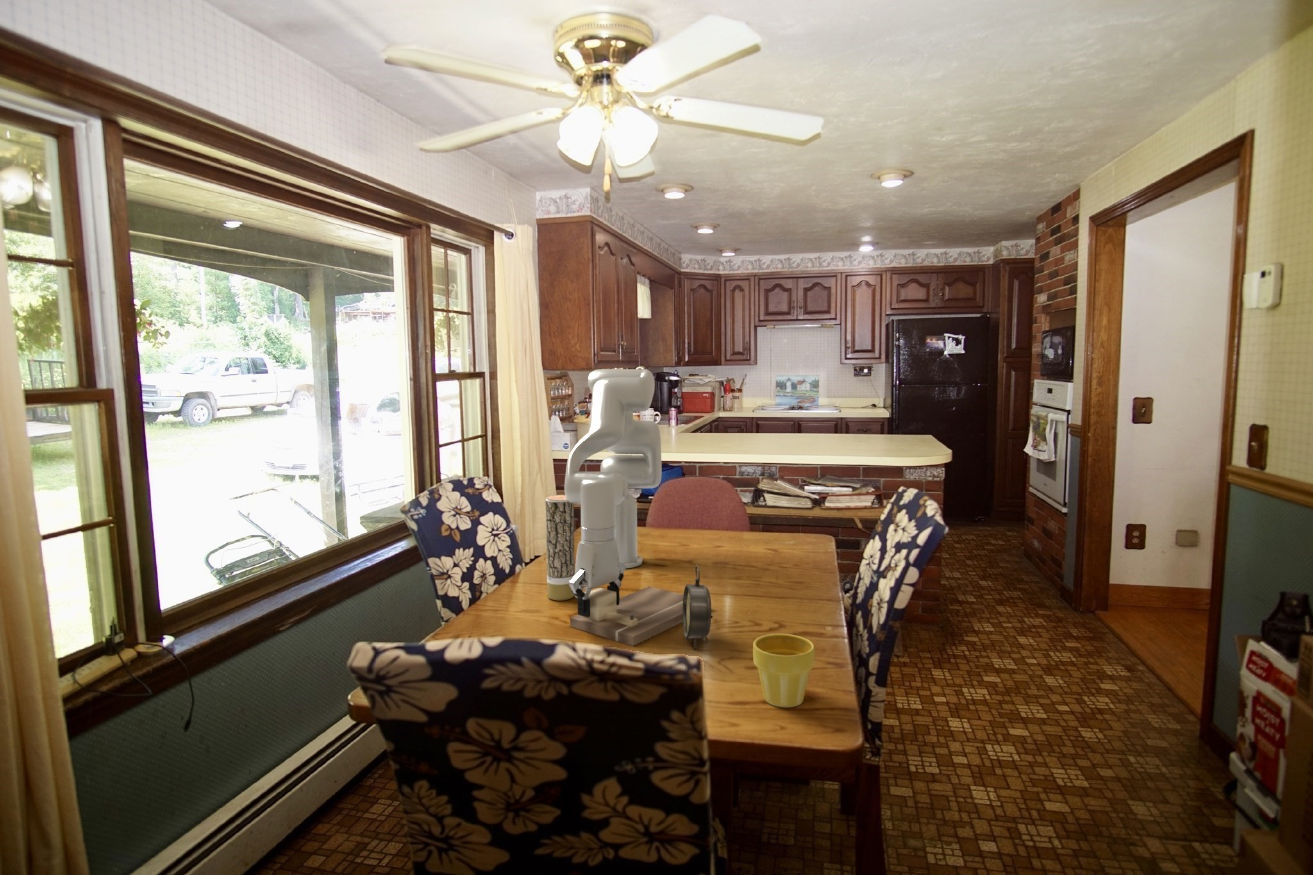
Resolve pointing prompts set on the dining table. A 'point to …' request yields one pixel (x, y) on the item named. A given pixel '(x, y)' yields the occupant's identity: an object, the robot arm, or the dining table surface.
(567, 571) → the paper tube
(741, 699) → the dining table surface
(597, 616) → the cream square mallet
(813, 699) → the dining table surface
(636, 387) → the robot arm
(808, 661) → the plant pot
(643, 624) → the wooden cutting board
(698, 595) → the alarm clock
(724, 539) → the dining table surface
